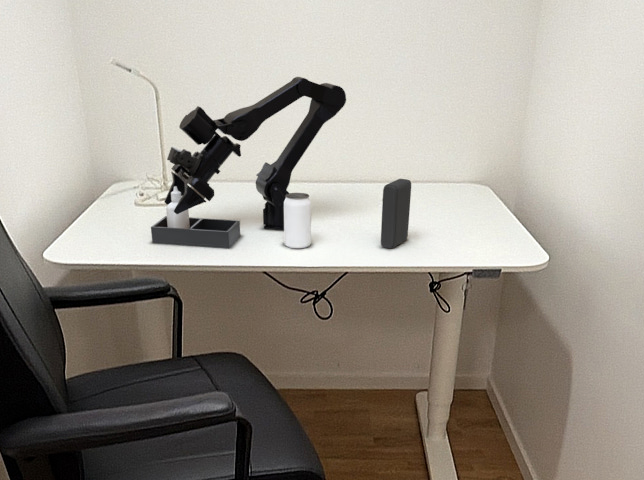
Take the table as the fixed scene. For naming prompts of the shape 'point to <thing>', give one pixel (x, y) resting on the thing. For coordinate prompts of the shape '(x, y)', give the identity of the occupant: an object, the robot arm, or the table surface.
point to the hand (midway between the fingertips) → (170, 208)
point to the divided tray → (198, 233)
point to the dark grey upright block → (395, 212)
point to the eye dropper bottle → (173, 218)
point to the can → (297, 220)
